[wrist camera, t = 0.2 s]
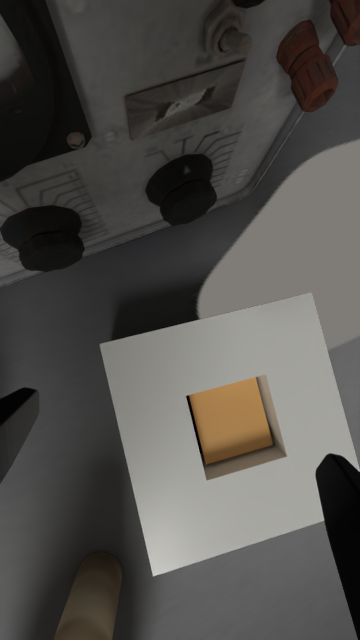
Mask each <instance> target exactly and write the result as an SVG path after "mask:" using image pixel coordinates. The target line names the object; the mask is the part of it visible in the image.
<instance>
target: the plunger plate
mask: <svg viewBox="0 0 360 640" xmlns="http://www.w3.org/2000/svg"><path fill="white" fill-rule="evenodd" d="M189 400H190V404H191V408H192V412H193V416H194V420H195V424H196V428H197V432H198V436H199V440H200V444H201V449H202V453H203V457H204V460H205V463H206V465H207V464H210V463H213V462H217V461H220V460H224V459H227V458H230V457H234V456H237V455H240V454H244V453H247V452H251V451H254V450H257V449H261V448H264V447H268V446H271V445H273V442H272V438H271V435H270V431H269V427H268V423H267V419H266V415H265V411H264V407H263V403H262V400H261V396H260V392H259V388H258V384H257V380H256V377H254V378H251V379H247V380H243V381H239V382H236V383H232V384H228V385H225V386H221V387H217V388H213V389H210V390H206V391H202V392H199V393H195V394H191V395H189Z"/></svg>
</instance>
